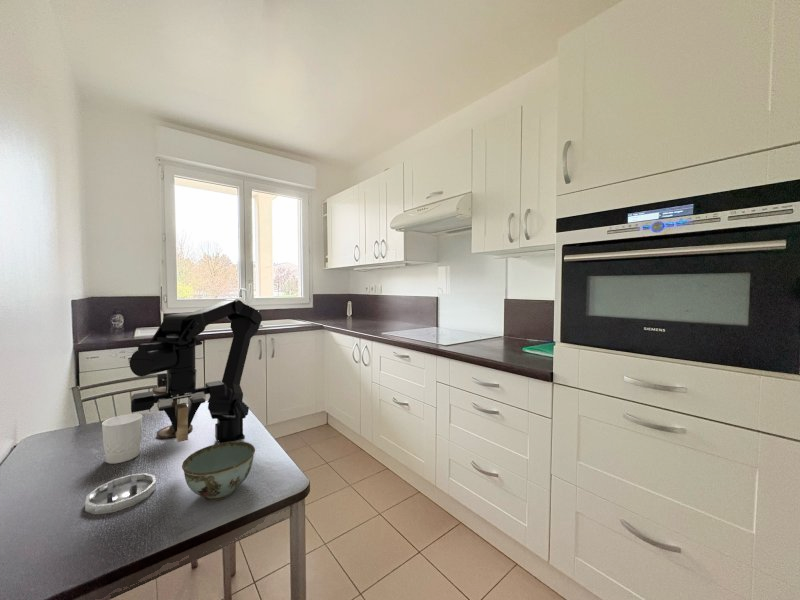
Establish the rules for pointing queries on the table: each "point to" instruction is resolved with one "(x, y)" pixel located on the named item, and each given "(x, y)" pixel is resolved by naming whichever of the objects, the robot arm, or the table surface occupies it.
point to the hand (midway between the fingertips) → (181, 429)
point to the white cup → (122, 437)
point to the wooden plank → (182, 422)
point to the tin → (120, 493)
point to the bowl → (218, 469)
